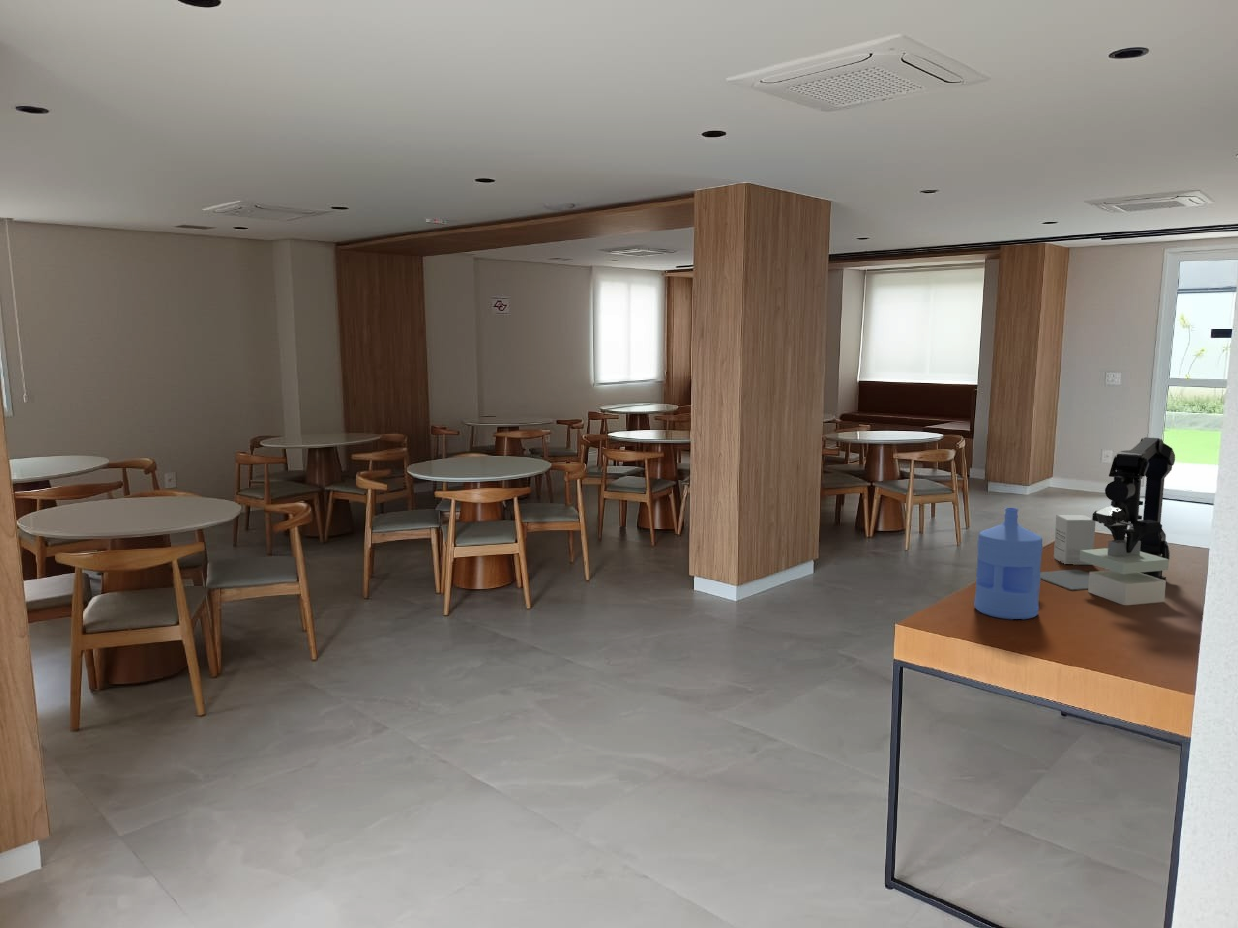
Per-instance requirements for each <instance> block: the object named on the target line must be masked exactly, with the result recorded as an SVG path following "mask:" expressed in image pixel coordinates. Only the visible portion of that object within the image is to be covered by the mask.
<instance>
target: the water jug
mask: <svg viewBox="0 0 1238 928" xmlns="http://www.w3.org/2000/svg"><path fill="white" fill-rule="evenodd" d="M1004 512H1005V513H1004V522H1003V523H1002V524H998V525H996V526H993V527H992V526H991V527H990V528H987V529H984V530H981V531H980V532H979V533H978V538H977V546H976V547H977V562H976V563H977V564H976V580H975V581H976V582H975V594H974V595H975V597H974V602H973V603H974V608H975V610H977V611H978V612H979V613H982V614H983V615H986V616H988V617H989V616H990V617H994V618H998V619H1005V620H1013V619H1022V620H1028V619H1032V618H1035V617H1036V616H1038V615H1039V610H1040V605H1039V600H1040V596H1039V595H1040V585H1041V581H1042V579H1041V575H1040V572H1041V565H1042V555H1043V538H1042V536H1040V535H1039V534H1037V533H1035V532H1033V531H1031V530H1030V529H1027V528H1025V527H1023V526H1022V525H1019V523H1018V518H1019V515H1018V512H1019V509H1018V508H1015V507H1005V508H1004Z"/></svg>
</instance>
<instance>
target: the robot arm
mask: <svg viewBox="0 0 1238 928" xmlns="http://www.w3.org/2000/svg"><path fill="white" fill-rule="evenodd" d="M1175 461H1176V454H1175V452H1174V448H1172V447H1171V446H1169V445H1168V444H1166V443H1165V442H1164V441H1163V439H1161V438H1159V437H1148V436H1147V437H1142V438H1141V439H1140V441H1139V442H1138V443H1137V444H1136V445H1135V446H1134V447H1132V448H1131V449H1129V450H1121V451H1118V452H1117V453H1116V455H1114V457H1113V460H1112V464H1111V468H1110V470H1109V474H1108V477H1109V478H1110V477H1111V478H1113V481H1110V482H1108V483H1107V485H1106V486H1105V488H1104V494H1105V496H1106V498H1107V499H1109V500H1110V501H1111V502H1110V505H1108V506H1105V507H1104V508H1101V509H1099V510H1095V511H1093V513H1092V515H1091V516H1092V517H1091V519H1092V520H1093V521H1095V522H1097V523H1098V524H1103V526H1104V527H1106V528H1107V529H1108V530H1109V531H1110V533H1111V535H1112V538H1113V540H1124V539H1125V538H1126V539H1127V541H1126V550H1127V553H1131V552H1132V550H1133V549H1134V547H1135V546H1136V544H1137V543H1138V541H1141V546H1140V551H1141V552H1144V553H1148V554H1151V555H1155V556H1159V557H1162V558H1166V559H1169V560H1170V553H1171V551H1170V548H1169V545H1168V542H1167V541H1166V538H1167V536H1166V533H1165V531H1164V529H1163V525H1162V511H1163V498H1164V489H1165V488H1164V487H1165V478H1166V477H1167V476H1168V474H1169V473H1171V471H1172V469H1173V466H1174V464H1175ZM1143 477H1146V480H1145V481H1146V482H1145V490H1144V491H1145V493H1144V501H1143V500H1140V499H1141V487H1142V479H1143ZM1143 505H1144V506H1143ZM1140 506H1143V514H1142V515H1140ZM1128 526H1129V527H1128ZM1141 573H1142V574H1145V575H1149V576H1152V577H1155V578H1158V579H1161V580H1167V577H1166V576H1164V575H1163V571H1152V572H1141Z"/></svg>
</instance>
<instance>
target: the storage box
mask: <svg viewBox="0 0 1238 928" xmlns="http://www.w3.org/2000/svg"><path fill="white" fill-rule="evenodd" d="M1088 573H1089V587H1088V589H1087V590H1088V594H1089V593H1090V594H1093V595H1095V596H1098V597H1100V598H1104V599H1105V600H1108V601H1111V602H1114V603H1117V604H1119V605H1122V606H1132V605H1134V606H1135V605H1145V604H1157V603H1158V604H1159V603H1165V597H1166V584H1167V583H1166V582H1167V580H1166V579H1158V578H1155V577H1152V576H1149V575H1145V574H1142V573H1130V574H1120V573H1117V572H1114V571H1111V570H1108V569H1107V570H1099V571H1097V570H1096V571H1089V572H1088Z"/></svg>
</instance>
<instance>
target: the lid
mask: <svg viewBox="0 0 1238 928" xmlns="http://www.w3.org/2000/svg"><path fill="white" fill-rule="evenodd" d="M1126 541H1127V538H1126V539H1124V540H1114V539H1113V540H1108V543H1107V548H1105V547H1104V548H1094V549H1091V550H1080V561H1083V562H1086V563H1089V564H1092V565H1091V566H1095V567H1099V568H1102V569H1106V570H1107V571H1108V570H1111V571H1114V572H1117V573H1120V574H1130V573H1141V572H1152V571H1162V572H1163V571H1169V563H1170V558H1169V559H1166V558H1162V557H1159V556H1155V555H1151V554H1148V553H1144V552H1141V551H1140V546H1141V541H1138V543H1137V544H1136V546H1135V547H1134V549H1133V550H1132V552H1131V553H1127V550H1126Z"/></svg>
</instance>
